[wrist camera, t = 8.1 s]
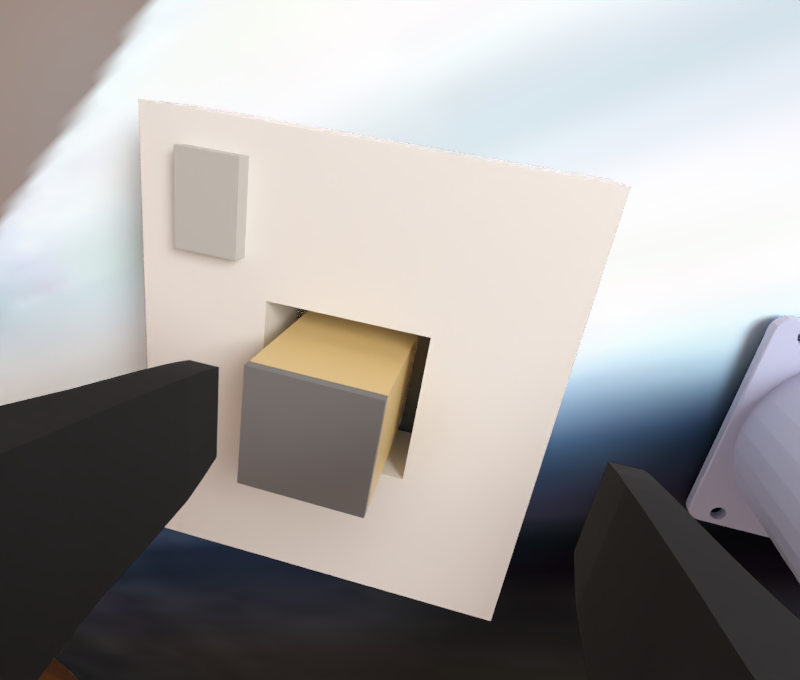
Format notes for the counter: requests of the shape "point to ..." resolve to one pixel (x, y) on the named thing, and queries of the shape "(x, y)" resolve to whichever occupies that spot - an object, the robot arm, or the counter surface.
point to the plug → (324, 410)
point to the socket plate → (382, 306)
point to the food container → (57, 672)
